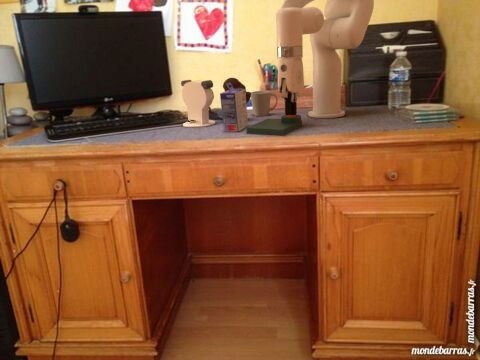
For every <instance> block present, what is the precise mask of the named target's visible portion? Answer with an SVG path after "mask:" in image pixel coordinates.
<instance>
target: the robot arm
mask: <svg viewBox="0 0 480 360" xmlns="http://www.w3.org/2000/svg"><path fill="white" fill-rule="evenodd" d="M313 1H315V0H283V3H282V4H281V6H280V8H279V9H277V11H276V13H275V24H276V27H275V28H276V59H277V60H278V66H277V89H278V92H279V93H280V94H281V98H283V101H284V115H298V113H297V111H298V110H297V107H298V106H297V101H298V94H299V93H300V92H301V91H303V90H304V89H305V75H304V64H303V63H304V62H303V56H304V53H303V52H304V49H303V48H304V47H303V43H304V41H303V36H304V35H309V40H310V46H311V52H312V110H311V111H308V113H307V114H308V116H309V117H310V118H316V119H335V118H342V117H344V116H345V115H346V111H345V110H344V109H343V110H342V109H341V106H342V105H341V101H342V68H343V67H342V66H343V65H342V60H341V57H340V56H339V54H338V52H337V50H352V49H356V48H358V47H359V46H360V45H362V42H363V40H364V39H365V38H364V37H365V35H366V32H367V29H368V27H369V24H370V21H371V18H372V15H373V13H374V6H375V0H326V2H325V5H324V10H323V11H322V10H321V9H320V8H318V7H315V6H307V5H308V4H310V3H311V2H313Z"/></svg>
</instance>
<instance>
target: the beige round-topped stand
mask: <svg viewBox="0 0 480 360" xmlns="http://www.w3.org/2000/svg"><path fill="white" fill-rule="evenodd" d="M180 85H181V87H182V89H181V97H182V101H183V103H184V104H185V106H186V111H187V121H186V122H184V123H182V127H185V128H203V127H209V126H213V125H215V124H216V121H215V120H211V119H210V113H211V112H212V108H211V105H212V104H213V101H214V98H215V94H214V91H213V89H212V88H213V87H214V81H213V80H212V79H207V80H191V79H185V80H181V82H180ZM188 120H189V121H190V122H188ZM191 120H194V121H191Z"/></svg>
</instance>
